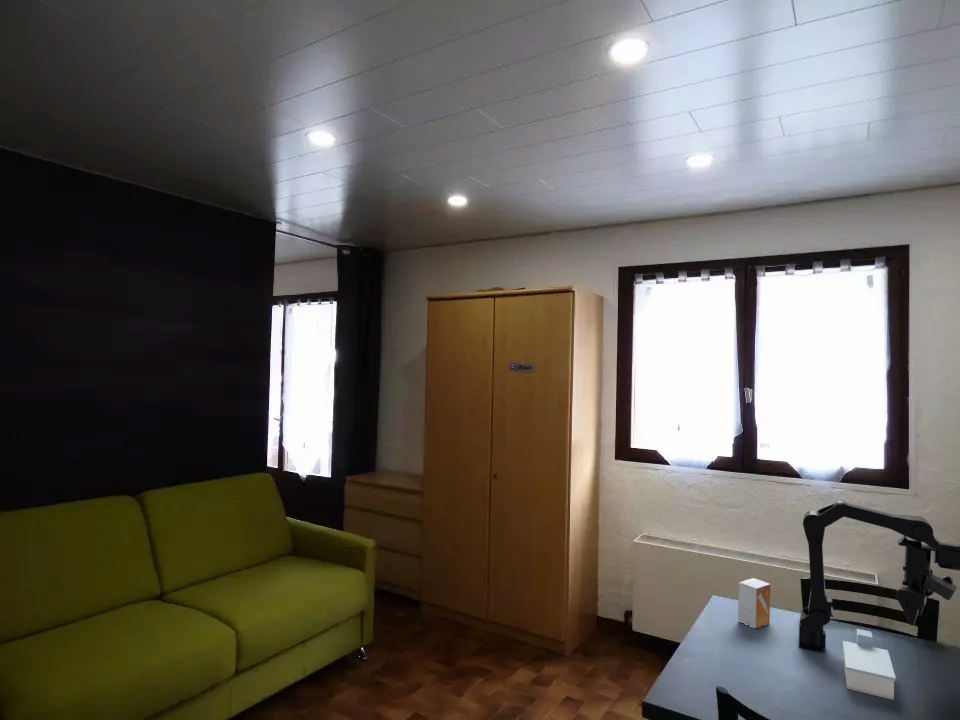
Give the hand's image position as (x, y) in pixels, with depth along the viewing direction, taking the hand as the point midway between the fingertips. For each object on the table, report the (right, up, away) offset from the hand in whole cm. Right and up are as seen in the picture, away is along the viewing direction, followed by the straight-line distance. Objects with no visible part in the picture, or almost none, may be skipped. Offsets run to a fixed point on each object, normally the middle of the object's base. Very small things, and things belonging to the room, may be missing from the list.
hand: (915, 619), depth 163 cm
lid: (-16, -8, -4) cm, 19 cm away
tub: (-17, -13, -6) cm, 22 cm away
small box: (-32, -13, +27) cm, 44 cm away
